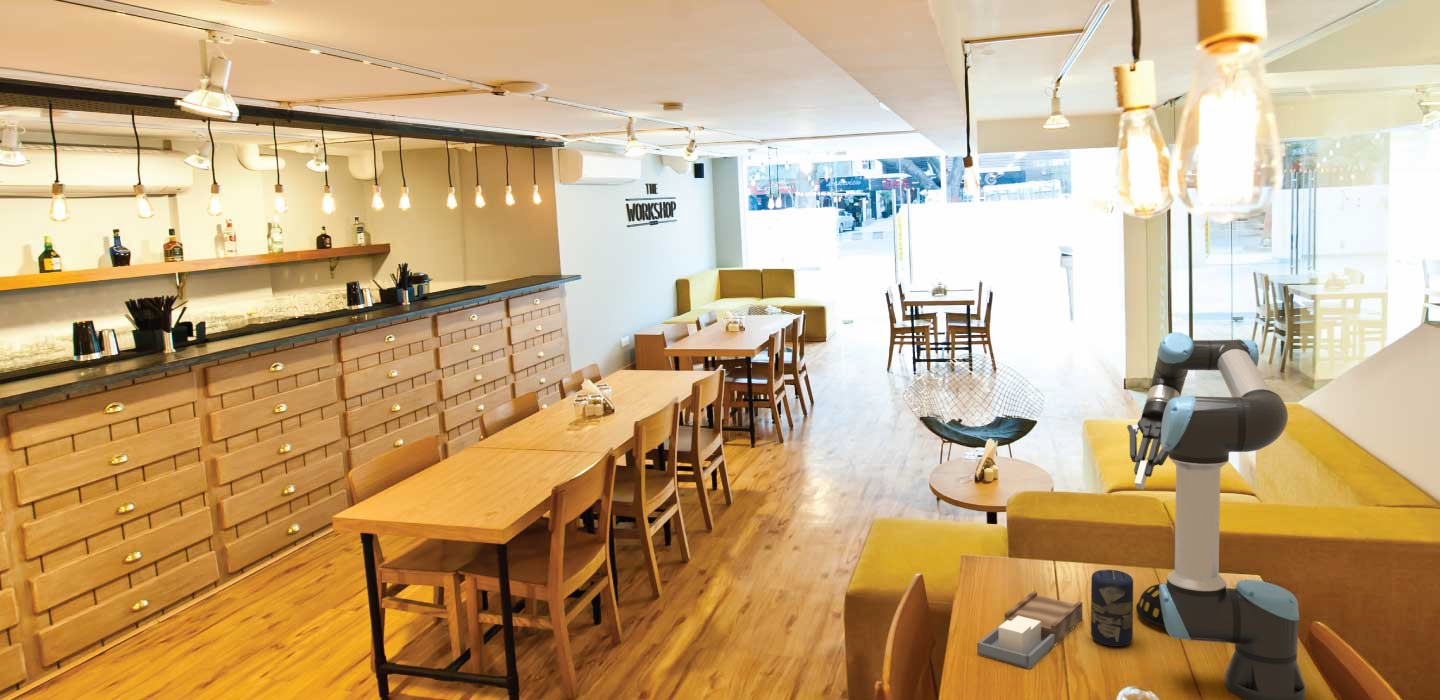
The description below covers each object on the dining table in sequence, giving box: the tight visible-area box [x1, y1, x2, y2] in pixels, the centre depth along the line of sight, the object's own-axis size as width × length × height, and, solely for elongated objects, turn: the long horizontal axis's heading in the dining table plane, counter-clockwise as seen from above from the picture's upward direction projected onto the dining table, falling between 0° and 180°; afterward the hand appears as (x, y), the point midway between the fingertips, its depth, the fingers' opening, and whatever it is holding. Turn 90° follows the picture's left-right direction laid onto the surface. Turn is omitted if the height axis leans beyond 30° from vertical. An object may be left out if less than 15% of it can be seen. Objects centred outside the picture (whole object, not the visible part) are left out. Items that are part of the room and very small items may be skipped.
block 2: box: [1012, 616, 1041, 649], centre depth 230 cm, size 6×6×5 cm
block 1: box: [997, 620, 1031, 655], centre depth 226 cm, size 6×6×5 cm
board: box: [1004, 590, 1083, 645], centre depth 240 cm, size 18×13×5 cm
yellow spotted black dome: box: [1135, 582, 1167, 629], centre depth 239 cm, size 16×9×20 cm
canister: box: [1090, 569, 1134, 647], centre depth 229 cm, size 10×10×18 cm
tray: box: [976, 621, 1056, 670], centre depth 228 cm, size 15×13×3 cm
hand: (1138, 486), depth 228 cm, fingers closed
